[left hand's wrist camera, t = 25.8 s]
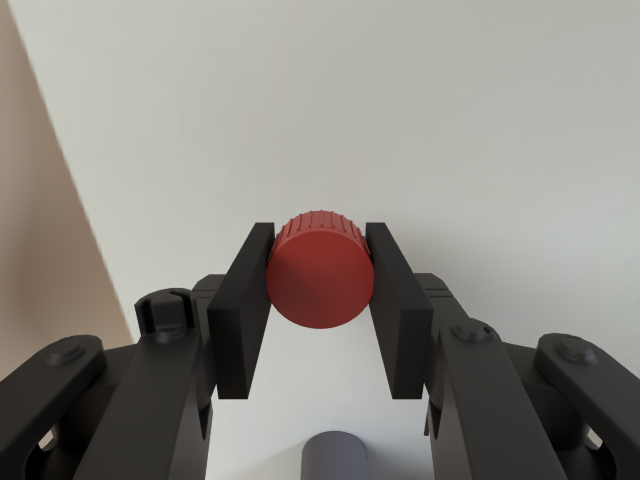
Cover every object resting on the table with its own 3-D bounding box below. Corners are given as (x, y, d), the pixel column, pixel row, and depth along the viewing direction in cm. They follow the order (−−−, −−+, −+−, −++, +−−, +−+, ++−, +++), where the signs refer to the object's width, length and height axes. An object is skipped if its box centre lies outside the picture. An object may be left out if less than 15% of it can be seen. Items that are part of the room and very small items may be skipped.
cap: (256, 270, 15) (244, 301, 12) (300, 190, 13) (297, 207, 11) (336, 310, 15) (339, 346, 13) (385, 238, 14) (399, 263, 12)
